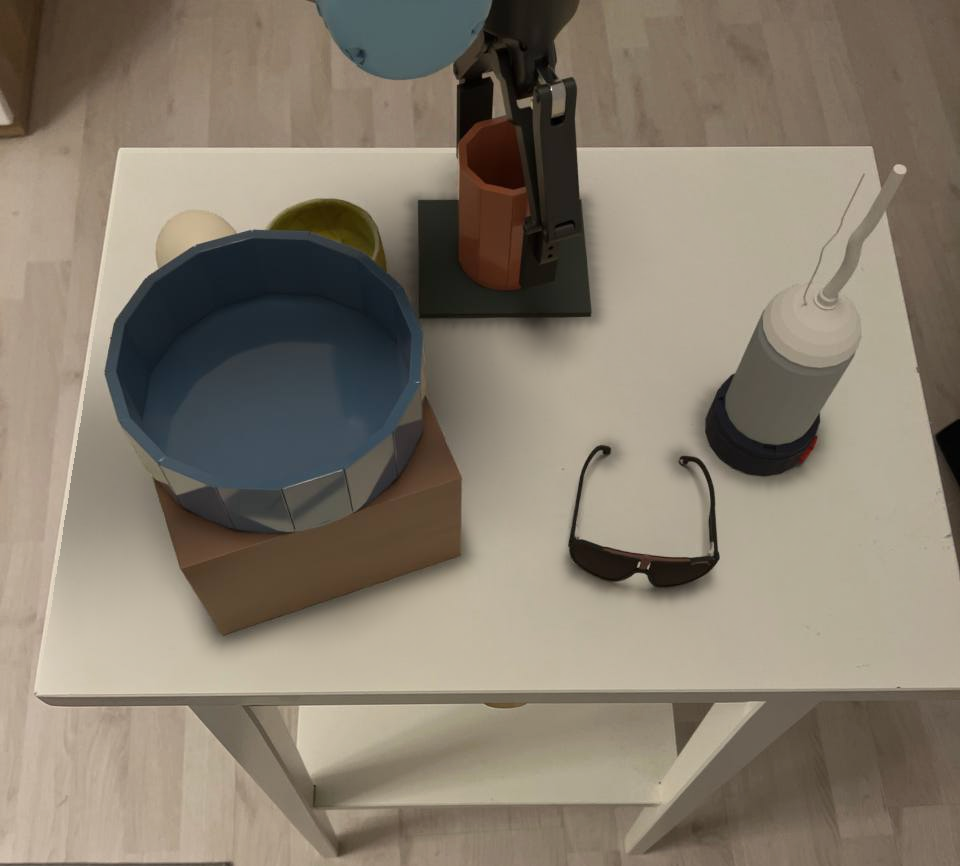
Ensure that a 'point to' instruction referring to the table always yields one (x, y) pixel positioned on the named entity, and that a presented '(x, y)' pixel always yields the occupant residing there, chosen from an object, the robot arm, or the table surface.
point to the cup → (491, 204)
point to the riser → (324, 544)
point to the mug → (334, 224)
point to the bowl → (270, 379)
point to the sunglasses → (624, 564)
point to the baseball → (189, 233)
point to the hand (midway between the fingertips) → (504, 217)
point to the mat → (460, 296)
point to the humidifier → (792, 364)
